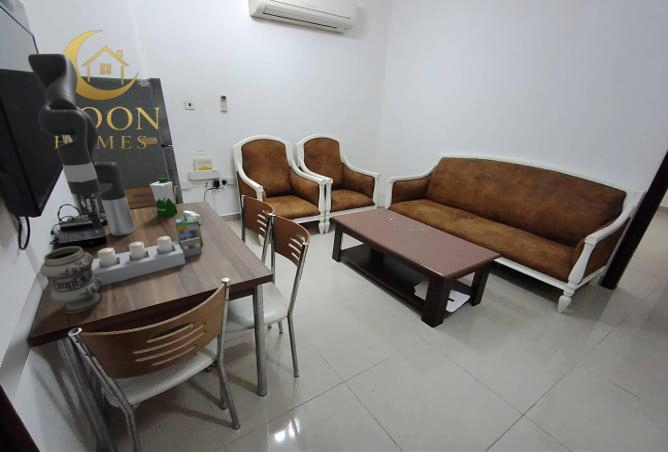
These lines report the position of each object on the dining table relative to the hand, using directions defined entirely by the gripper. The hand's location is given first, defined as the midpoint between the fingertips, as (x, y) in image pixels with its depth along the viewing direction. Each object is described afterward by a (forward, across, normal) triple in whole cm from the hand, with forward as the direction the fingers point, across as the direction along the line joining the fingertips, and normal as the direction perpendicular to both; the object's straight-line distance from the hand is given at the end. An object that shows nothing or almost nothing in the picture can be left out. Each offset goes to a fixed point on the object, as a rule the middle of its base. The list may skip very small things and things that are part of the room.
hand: (98, 227), depth 98 cm
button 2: (+14, 0, +9) cm, 16 cm away
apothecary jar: (+19, +14, -8) cm, 25 cm away
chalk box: (+19, -12, +29) cm, 37 cm away
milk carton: (+19, -56, +26) cm, 65 cm away
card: (+19, 0, +27) cm, 33 cm away
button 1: (+14, 0, 0) cm, 14 cm away
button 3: (+14, 0, +18) cm, 23 cm away
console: (+19, 0, +9) cm, 21 cm away
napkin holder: (+19, -37, +35) cm, 54 cm away
